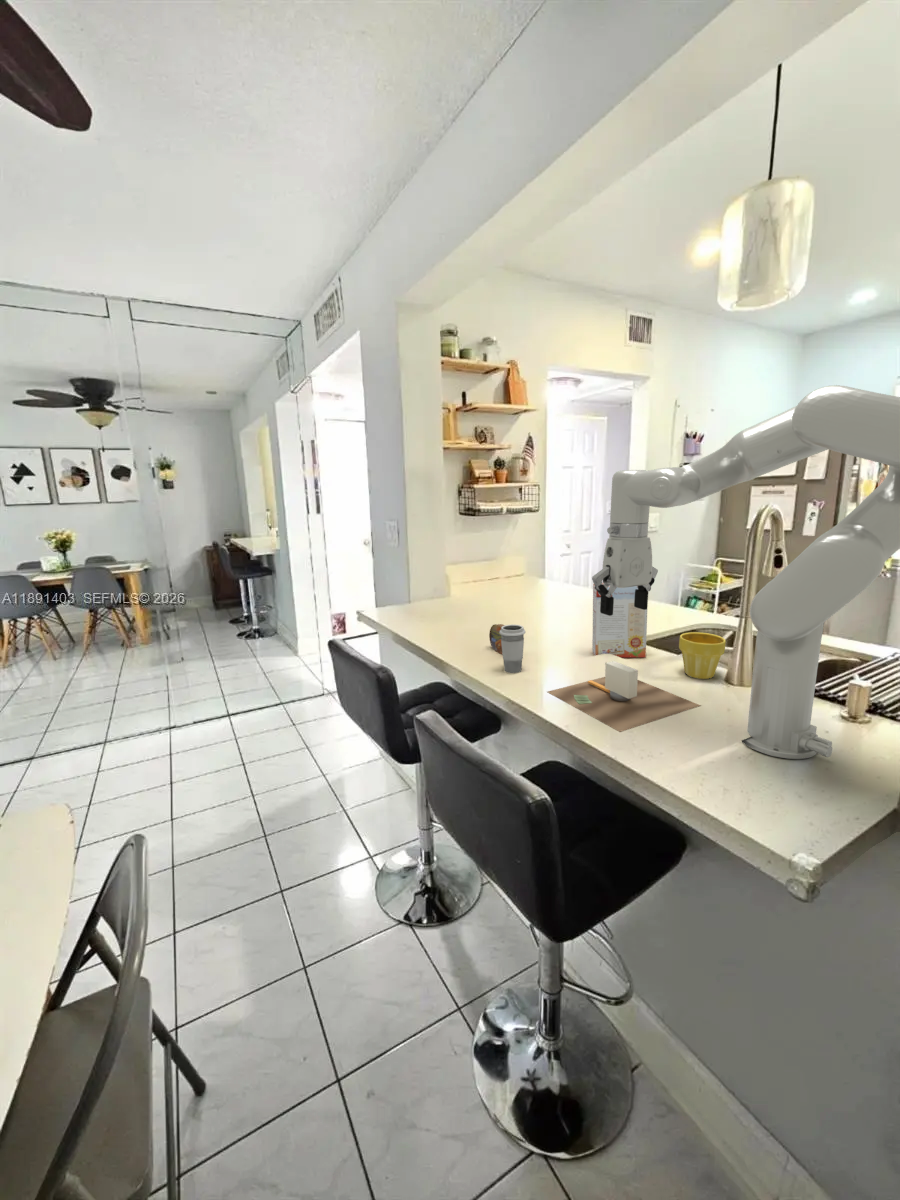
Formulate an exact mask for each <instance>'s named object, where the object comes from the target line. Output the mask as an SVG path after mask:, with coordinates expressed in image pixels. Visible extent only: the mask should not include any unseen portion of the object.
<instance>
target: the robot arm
mask: <svg viewBox="0 0 900 1200" xmlns="http://www.w3.org/2000/svg"><path fill="white" fill-rule="evenodd" d="M827 450H830V451H833V452H837V453H840V454H844V455H848V456H852V457H855V458H858V459H864V460H866V461H867V460H868V461H872V462H876V463H880V464H883V465H887V466H889V468H888V471H887V474H886V476H885V477H884V479H883V481H882V482H881V483H880V484H879V485H878V486H877V487H876V488H875V489H874V490H872V491H871V493H869V495H867V496H866V497H865V498H864V499H863V501H861V502H860V503H859V505H858V506H856V507H855V508H854V509H853V510H852V511H850V513H849V514H847V515H846V516H844V518H843V519H841V520H840V521H839V522H838V523H837V524H836V525H834V526H833V527H832V528H830V529H829V530H827V531H826V532H823V533H822V534H821V535H819V536H818V537H817V538H816V539H815V540H813V541H812V542H811V543H810V544H809V546H807V547H806V548H805V549H804V550H803V551H802V552H801V553H800V554H799V555H798V556H797V557H795V558H794V559H793V560H792V561H791V562H789V564H788V565H787V566H785V568H783V569H782V570H781V571H780V572H779V573H778V574H776V575H775V577H774V578H772V579H771V580H770V581H769V582H767V583H766V584H765V585H764V586H763V587H762V588H761V589H760V590H759V591H758V592H757V593H756V594H755V595H754V597H753V599H752V600H751V603H750V606H749V616H750V617H749V618H750V620H751V623H752V624H753V627H754V628H755V629H756V630H757V633H756V637H755V638H756V641H755V646H754V647H755V648H754V658H753V665H752V666H753V669H752V676H751V677H752V678H751V679H752V680H751V688H750V689H751V690H750V698H749V707H748V708H749V710H748V720H747V733H748V735H749V736H750V737H747V738H744V739H742V740H741V742H742V744H744V745H745V746H747V747H748V748H750V749H753V750H754V751H756V752H759V753H762V754H764V755H768V756H771V757H775V758H782V759H790V760H802V759H809V758H812V757H814V756H816V755H817V754H818V755H821V756H823V757H826V758H829V757H830V756H831V755H832V753H833V742H832V741H831V740H829V739H826V738H823V737H820V736H818V734H817V728H818V727H817V726H815V725H813V724H811V723H812V722H811V721H812V714H813V707H814V699H815V698H814V697H815V691H816V690H815V689H816V685H817V684H816V683H817V675H818V668H819V661H820V651H821V645H822V637H823V632H824V625H825V622H826V621H828V619H831V617H833V616H834V615H835V614H837V613H838V612H839V611H840V610H841V609H843V608H844V607H845V606H847V604H849V603H850V602H852V601H853V600H854V599H855V598H857V597H858V596H859V595H860V594H861V593H862V592H864V591H865V590H866V589H868V587H870V586H871V585H872V583H874V581H876V579H877V578H878V577H879V575H880V574H881V573H882V570H883V567H884V565H885V562H887V560H888V559H889V558H891V556H893V555H894V554H895V553H896V552H897V551H898V550H900V396H896V395H890V394H886V393H885V394H884V393H881V392H875V391H869V390H865V389H862V388H855V387H851V386H847V385H837V384H836V385H835V384H834V385H826V386H822V387H819V388H817V389H815V390H813V391H811V392H809V393H807V394H806V395H805V396H804V397H803V398H802V399H801V400H800V401H799V402H798V404H797V405H795V406H793V407H791V408H789V409H787V410H785V411H782V412H781V413H778V414H776V415H774V416H772V417H769V418H767V419H766V420H765V419H764V420H763V421H761V422H758V423H756V424H754V425H751V426H749V427H748V428H745V429H743V430H742V429H741V430H740V431H739V432H737V433H736V434H735V435H734V436H733V437H731V439H730V440H728V442H727V443H726V444H725V445H724V446H722V447H720V448H719V449H717V450H716V451H714V452H711V453H710V454H707V455H706V456H703V457H702V458H699V459H696V460H694V461H692V462H690V463H688V464H685V465H682V466H680V467H678V466H677V467H661V468H656V469H650V470H646V469H626V470H625V469H624V470H619V471H615V473H614V474H613V475H612V480H611V496H610V497H611V498H610V513H609V515H610V516H609V527H607V530H606V531H607V534H608V536H609V538H607V539H606V545H605V549H604V555H603V559H602V560H603V561H602V569H600V570H599V571H598V572H597V573H595V574H594V575H593V576H592V577H591V580H592V583H593V584H594V585H595V589H596V590H597V591H598V594H599V595H601V603H600V612H601V613H602V614H605V615H609V616H611V615H613V604H614V597H611V596H612V594H613V593H614V591H615V589H616V588H617V587H618V588H626V587H634V586H637V588H638V589H635V600H634V607H636V608H639V609H643V610H646V609H647V610H648V607H647V605H648V604H649V603H648V602H649V592H650V591H651V590H652V586H653V585H654V583H655V580H656V577H657V575H658V571H659V570H658V569H657V568H656V567H654V566H653V549H652V543H651V542H652V541H651V537H649V536H648V535H649V534H648V533H649V518H650V509H651V508H650V507H654V508H661V509H667V508H674V507H680V506H685V505H689V504H690V503H693V502H696V501H698V500H700V499H701V500H702V499H704V498H706V497H709V496H711V495H714V494H717V493H719V492H722V491H724V490H726V489H729V488H731V487H733V486H737V485H738V484H742V483H744V482H749V481H751V480H754V479H756V478H758V477H761V476H763V475H766V474H769V473H771V472H774V471H777V470H779V469H781V468H783V467H786V466H788V465H791V464H794V463H797V462H799V461H802V460H804V459H806V458H810V457H812V456H816V455H817V454H820V453H824V452H825V451H827ZM602 583H603V584H602ZM609 586H610V587H609ZM608 587H609V589H608V590H607V588H608ZM648 606H649V605H648Z"/></svg>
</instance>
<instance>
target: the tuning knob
mask: <svg viewBox="0 0 900 1200" xmlns="http://www.w3.org/2000/svg"><path fill="white" fill-rule="evenodd" d="M604 671H605V673H604V674H605V676H604V677H605V686H603V685H601V684H598V683H596V682H594V681H592V680H593V679H591V680H590V679H589V680H587V681H588V683H589V684H591V685H593V686H595V687H598V688H600V689H602V690H604V691H606V692H608V693H610V697H611V698H612V699H614V700H617V701H628V700H630V699H631V698H633V697H636V696H637V681H638V680H639V679H638V677H639V670H638V669H635V668H634V667H631V666H628V665H626V664H623V663H620V662H618V661H615V660H613V661H612V660H611V661H609V662H605V669H604Z"/></svg>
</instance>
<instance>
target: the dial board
mask: <svg viewBox="0 0 900 1200" xmlns="http://www.w3.org/2000/svg"><path fill="white" fill-rule="evenodd" d="M591 680H592V681H594V682H596V683H598V684H601V685H603V686H605V676H603V677H599V678H595V679H591ZM588 681H589V680H587V681H583V682H580V683H575V684H572V685H567V686H564V687H560V688H556V689H552V690H548V691H547V693H548V694H549V695H552V696H554V697H555V698H557V699H558V700H561V701H562V702H564V703H566V704H568V705H570V706H571V707H573V708H575V709H577V710H578V711H580V712H583V713H584V714H586V715H587V716H589V717H591V718H592V719H595V720H597V721H598V722H601V723H603V724H604V725H606V726H607V727H610V728H611V729H613V730H615V731H617V732H619V733H622V732H624V731H628V730H630V729H631V730H632V729H634V728H637V727H640V726H643V725H646V724H650V723H653V722H656V721H658V720H661V719H664V718H665V719H666V718H667V717H670V716H674V715H677V714H680V713H684V712H687V711H690V710H692V709H695V708H698V707H701V706H702V705H701V704H698V703H696V702H693V701H691V700H689V699H686V698H685V697H681V696H679V695H676V694H674V693H671V692H669V691H666V690H664V689H661V688H659V687H657V686H654V685H651V684H649V683H647V682H645V681H642V680H639V679H638V681H637V696H636V697H633V698H631V699H630V700H628V701H617V700H614V699H612V698H611V697H610V693H608V692H606V691H604V690H602V689H600V688H598V687H595V686H593V685H591V684H589V683H588Z"/></svg>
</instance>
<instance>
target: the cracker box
mask: <svg viewBox="0 0 900 1200" xmlns="http://www.w3.org/2000/svg"><path fill="white" fill-rule="evenodd" d="M602 584H603V582H602ZM609 587H610V586H609ZM609 587H608V588H607V590H608V589H609ZM635 589H638V588H637V586H634V587H626V588H618V587H617V588H616V589H615V591H614V593H613V594H612V596H611V597H614V604H613V615H611V616H609V615H605V614H602V613H601V612H600V603H601V595H599V594H598V591H597V590H596V589H595V585H594V583H593V586H592V641H591V643H592V648H591V649H592V651H591V653H593V656H594V655H595V656H600V655H604V654H606V655H607V654H609V655H612V656H615V657H617V658H621V659H623V658H624V659H626V658H627V659H628V658H632V659H634V658H636V659H637V658H646V657H647V633H648V632H647V631H648V629H647V627H648V624H647V623H648V606H649V605H647V609H646V610H643V609H639V608H636V607H634V600H635Z"/></svg>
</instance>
